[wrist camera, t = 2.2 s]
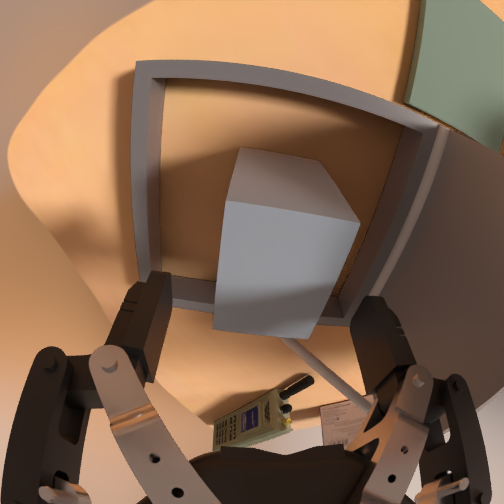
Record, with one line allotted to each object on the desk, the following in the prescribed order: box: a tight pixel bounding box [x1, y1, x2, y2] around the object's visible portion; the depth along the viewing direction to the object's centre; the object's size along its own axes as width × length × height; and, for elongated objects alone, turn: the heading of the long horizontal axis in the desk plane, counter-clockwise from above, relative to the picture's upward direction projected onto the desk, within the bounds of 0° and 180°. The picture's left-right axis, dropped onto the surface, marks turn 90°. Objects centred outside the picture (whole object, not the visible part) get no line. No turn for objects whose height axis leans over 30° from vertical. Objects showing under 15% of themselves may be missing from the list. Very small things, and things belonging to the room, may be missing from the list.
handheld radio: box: [213, 375, 314, 452], centre depth 34 cm, size 7×3×25 cm
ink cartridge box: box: [320, 395, 374, 450], centre depth 32 cm, size 10×6×14 cm, turn 110°
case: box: [131, 60, 504, 434], centre depth 12 cm, size 18×18×14 cm
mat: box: [403, 0, 504, 153], centre depth 10 cm, size 10×12×1 cm
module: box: [212, 147, 361, 339], centre depth 15 cm, size 5×7×8 cm
